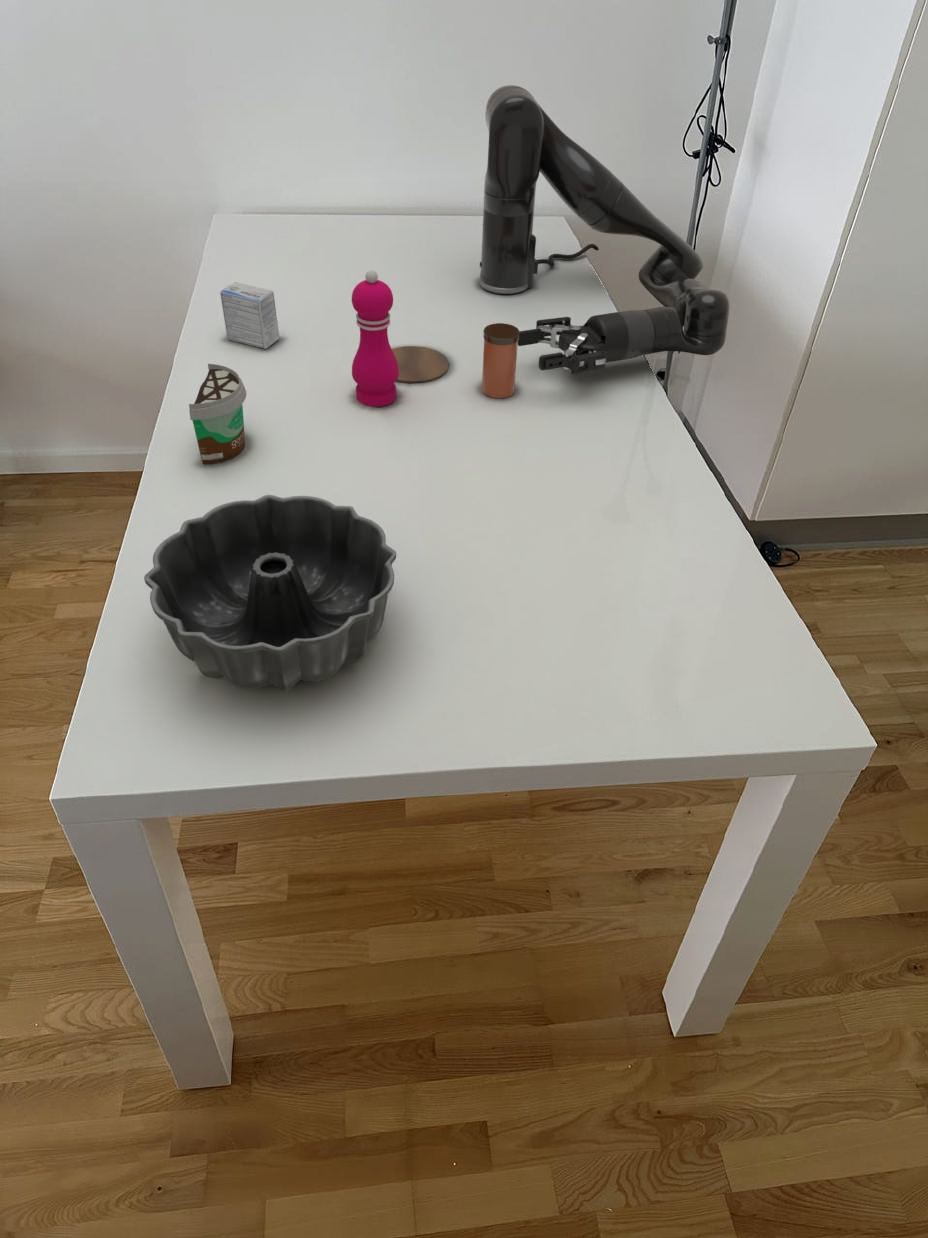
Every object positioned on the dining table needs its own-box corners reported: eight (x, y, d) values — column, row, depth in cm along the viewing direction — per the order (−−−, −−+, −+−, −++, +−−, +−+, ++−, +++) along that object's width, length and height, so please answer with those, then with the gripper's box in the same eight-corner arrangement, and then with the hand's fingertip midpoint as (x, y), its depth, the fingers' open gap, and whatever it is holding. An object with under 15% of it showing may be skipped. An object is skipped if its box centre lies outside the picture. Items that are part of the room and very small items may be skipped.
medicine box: (280, 339, 158) (274, 290, 152) (265, 350, 155) (259, 300, 149) (241, 329, 160) (234, 280, 154) (226, 340, 157) (218, 290, 151)
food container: (244, 471, 128) (234, 408, 121) (200, 470, 128) (187, 406, 121) (260, 425, 137) (252, 363, 130) (219, 423, 137) (208, 361, 130)
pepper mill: (406, 390, 146) (404, 265, 132) (388, 412, 141) (385, 284, 127) (364, 382, 148) (358, 257, 134) (345, 403, 143) (337, 276, 129)
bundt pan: (219, 543, 116) (206, 477, 110) (422, 575, 113) (422, 509, 106) (120, 694, 97) (97, 625, 91) (360, 738, 94) (355, 670, 87)
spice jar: (506, 379, 150) (510, 320, 143) (520, 395, 146) (525, 336, 139) (475, 384, 148) (478, 325, 141) (488, 401, 144) (491, 341, 138)
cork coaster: (434, 343, 158) (434, 341, 158) (459, 376, 150) (459, 374, 150) (367, 354, 155) (366, 351, 154) (389, 387, 147) (389, 385, 146)
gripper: (637, 377, 147) (545, 394, 142) (595, 338, 156) (508, 352, 152) (644, 333, 142) (549, 348, 137) (601, 295, 151) (511, 308, 147)
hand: (528, 350), depth 144 cm, fingers open, 8 cm apart
